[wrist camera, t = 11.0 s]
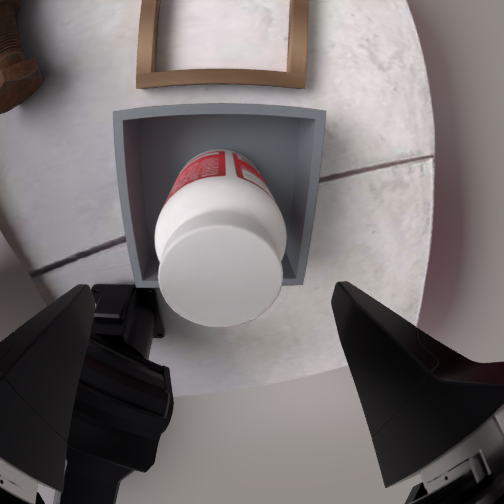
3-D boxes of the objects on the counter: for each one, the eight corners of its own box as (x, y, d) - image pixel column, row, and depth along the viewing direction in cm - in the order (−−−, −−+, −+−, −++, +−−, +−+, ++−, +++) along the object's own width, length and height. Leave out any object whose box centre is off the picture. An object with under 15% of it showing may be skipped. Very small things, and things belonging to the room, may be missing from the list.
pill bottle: (171, 220, 20) (137, 328, 11) (185, 140, 18) (142, 189, 8) (251, 234, 22) (275, 346, 12) (273, 158, 19) (327, 225, 9)
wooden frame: (299, 88, 17) (304, 88, 16) (141, 88, 16) (136, 88, 15) (304, -35, 11) (308, -41, 10) (152, -37, 10) (149, -43, 9)
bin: (291, 256, 24) (302, 284, 20) (147, 258, 23) (136, 287, 19) (306, 108, 18) (326, 110, 14) (133, 108, 16) (113, 111, 13)
